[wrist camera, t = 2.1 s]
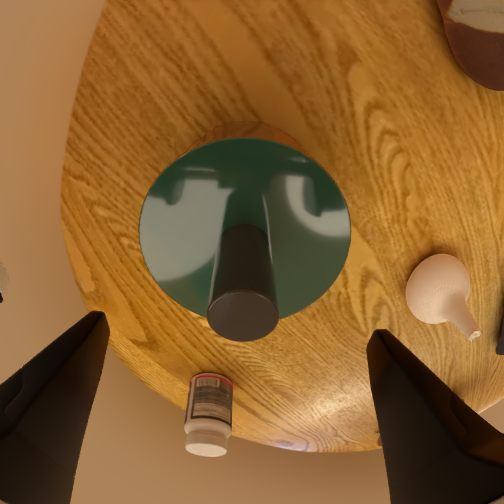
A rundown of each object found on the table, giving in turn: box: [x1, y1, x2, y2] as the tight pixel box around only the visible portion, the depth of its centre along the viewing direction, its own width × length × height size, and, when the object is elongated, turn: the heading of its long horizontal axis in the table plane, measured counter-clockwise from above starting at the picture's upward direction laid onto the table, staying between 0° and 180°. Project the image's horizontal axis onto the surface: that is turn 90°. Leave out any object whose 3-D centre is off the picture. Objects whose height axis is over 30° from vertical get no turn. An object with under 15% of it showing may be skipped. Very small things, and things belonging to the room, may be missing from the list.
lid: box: [139, 135, 351, 342], centre depth 12 cm, size 10×10×6 cm
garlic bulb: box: [406, 253, 481, 342], centre depth 20 cm, size 6×6×8 cm
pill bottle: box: [184, 373, 233, 457], centre depth 28 cm, size 5×5×8 cm
